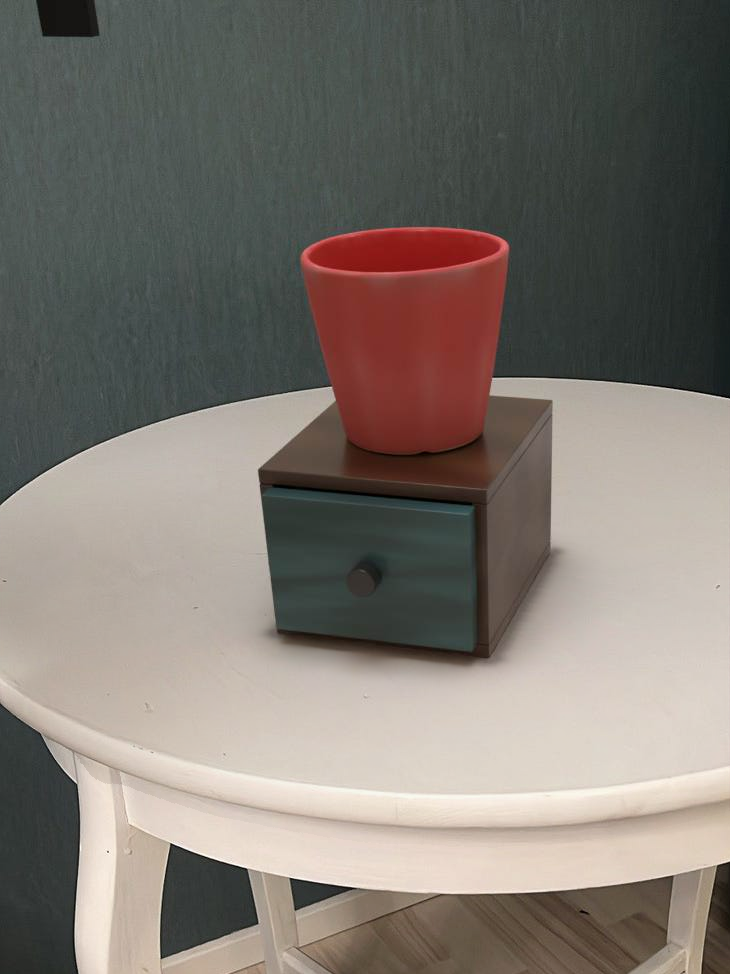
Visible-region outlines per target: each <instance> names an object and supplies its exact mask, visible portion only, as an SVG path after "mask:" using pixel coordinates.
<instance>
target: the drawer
mask: <svg viewBox="0 0 730 974" xmlns="http://www.w3.org/2000/svg"><path fill="white" fill-rule="evenodd" d="M261 499H262V502H261V508H262V507H263V511H262V517H263V516H264V519H263V525H264V524H265V528H264V534H265V533H266V536H265V542H266V541H267V545H266V551H267V550H268V553H267V559H268V558H269V562H268V568H269V567H270V570H269V577H270V576H271V579H270V585H271V584H272V587H271V594H272V593H273V596H272V602H273V601H274V604H273V611H274V610H275V613H274V619H275V618H276V619H275V628H276V627H277V629H283V630H291V631H299V632H308V633H316V634H325V635H333V636H342V637H350V638H358V639H367V640H375V641H384V642H392V643H401V644H409V645H417V646H426V647H434V648H443V649H451V650H460V651H468V652H472V651H473V649H474V648H475V646H476V644H477V643H478V621H477V571H476V521H475V506H472V504H473V503H469V502H458V501H447V500H436V499H426V498H415V497H404V496H393V495H382V494H371V493H361V492H350V491H339V490H328V489H317V488H306V487H295V486H292V489H284V488H273V487H269V488H268V489H267V490H266V491H265V492H264V493H263V494H262V495H261V494H260V500H261ZM277 629H276V630H277Z"/></svg>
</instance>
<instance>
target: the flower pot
mask: <svg viewBox="0 0 730 974" xmlns="http://www.w3.org/2000/svg"><path fill="white" fill-rule="evenodd" d="M509 257H510V245H509V243H508V242H507V241H506V240H505V239H503V238H501V237H499V236H497V235H494V234H491V233H488V232H482V231H479V230H471V229H464V228H453V227H452V228H451V227H434V226H432V227H431V226H428V227H427V226H418V227H417V226H415V227H414V226H413V227H411V226H410V227H409V226H408V227H389V228H387V227H386V228H378V229H377V228H376V229H368V230H361V231H355V232H349V233H344V234H339V235H335V236H332V237H327V238H324V239H322V240H320V241H316V242H315V243H313V244H311V245H309V246H308V247H307V248H305V249H304V250H303V251H302V252H301V255H300V266H301V271H302V275H303V280H304V285H305V288H306V293H307V298H308V301H309V306H310V310H311V314H312V318H313V321H314V325H315V329H316V330H315V331H316V333H317V338H318V342H319V345H320V349H321V353H322V356H323V360H324V364H325V368H326V371H327V375H328V378H329V382H330V385H331V388H332V392H333V396H334V399H335V401H336V403H337V406H338V410H339V413H340V417H341V420H342V424H343V427H344V430H345V433H346V436H347V438H348V439H349V440H350V441H351V442H352V443H353V444H355V445H356V446H358V447H360V448H363V449H366V450H369V451H373V452H378V453H385V454H398V455H410V454H417V453H420V452H423V451H427V452H432V453H435V452H441V451H446V450H450V449H454V448H457V447H460V446H463V445H465V444H468V443H470V442H471V441H473V440H475V439H476V438H477V437H478V436H479V435H480V434H481V433H482V431H483V429H484V424H485V417H486V410H487V405H488V399H489V395H490V394H491V387H492V381H493V378H494V377H493V375H494V370H495V363H496V357H497V350H498V343H499V337H500V336H499V335H500V328H501V322H502V315H503V313H502V312H503V306H504V299H505V298H504V297H505V291H506V284H507V274H508V267H509V259H510V258H509Z"/></svg>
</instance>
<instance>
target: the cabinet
mask: <svg viewBox="0 0 730 974" xmlns="http://www.w3.org/2000/svg"><path fill="white" fill-rule="evenodd" d="M553 407H554V406H553V400H552V399H544V398H530V397H518V396H517V397H516V396H504V395H503V396H502V395H490V394H489V399H488V405H487V410H486V417H485V424H484V429H483V431H482V433H481V434H480V435H479V436H478V437H477V438H476V439H475V440H473V441H471V442H470V443H468V444H465V445H463V446H460V447H457V448H454V449H450V450H446V451H441V452H435V453H432V452H427V451H423V452H420V453H417V454H410V455H398V454H385V453H378V452H373V451H369V450H366V449H363V448H360V447H358V446H356V445H355V444H353V443H352V442H351V441H350V440H349V439H348V438H347V436H346V433H345V430H344V427H343V424H342V420H341V417H340V413H339V410H338V406H337V403H336V400H334V401H333V402H332V403H331V404H330V405H329V406H328V407H327V408H325V410H323V411H322V412H321V413H320V414H319V415H317V417H315V418H314V419H313V420H312V421H311V422H309V423H308V424H307V425H306V426H305V427H304V428H302V430H300V431H299V432H298V433H297V434H296V435H295V436H293V438H291V440H289V441H288V442H287V443H286V444H285V445H283V446H282V447H281V448H280V449H279V450H278V451H277V452H276V453H275V454H273V455H272V456H270V458H269V459H268V460H267V461H265V462H264V463H263V464H262V465H260V467H259V468H258V469H257V474H258V483H259V493H260V496H261V495H262V494H263V493H264V492H265V491H266V490H267V489H268V488H269V487H273V488H284V489H292V486H295V487H306V488H317V489H328V490H339V491H350V492H361V493H371V494H382V495H393V496H404V497H415V498H426V499H436V500H447V501H458V502H469V503H473V504H472V506H475V521H476V571H477V621H478V643H477V644H476V646H475V648H474V649H473V651H472V652H468V651H460V650H451V649H443V648H434V647H426V646H417V645H409V644H401V643H392V642H384V641H375V640H367V639H358V638H350V637H342V636H333V635H325V634H316V633H308V632H299V631H291V630H283V629H277V627H276V626H275V628H276V629H275V630H276V633H278V634H286V635H295V636H303V637H312V638H319V639H320V638H321V639H326V640H327V639H328V640H336V641H345V642H351V643H353V642H354V643H362V644H369V645H378V646H386V647H396V648H402V649H403V648H404V649H412V650H419V651H420V650H422V651H429V652H437V653H445V654H454V655H461V656H462V655H463V656H470V657H477V658H490V656H491V655H492V653H493V651H494V649H495V648H496V647H497V644H498V643H499V641H500V640H501V638H502V636H503V634H504V632H505V631H506V629H507V627H508V626H509V624H510V622H511V620H512V618H513V617H514V615H515V614H516V612H517V610H518V608H519V607H520V605H521V603H522V602H523V600H524V598H525V596H526V595H527V593H528V591H529V589H530V588H531V586H532V584H533V582H534V581H535V579H536V577H537V575H538V574H539V572H540V571H541V569H542V567H543V565H544V563H545V562H546V560H547V558H548V556H549V555H550V554H551V544H552V543H551V542H552V541H551V540H552V538H551V537H552V478H553V477H552V476H553V475H552V474H553V466H552V465H553ZM260 501H261V503H262V499H261V498H260ZM261 510H262V512H263V507H262V506H261ZM262 518H263V520H264V516H263V515H262ZM263 526H264V527H263V529H265V524H264V523H263ZM264 535H265V537H266V533H265V532H264ZM265 543H266V546H267V541H266V540H265ZM266 552H267V554H268V550H267V549H266ZM267 560H268V563H269V558H268V557H267ZM268 569H269V570H268V571H270V567H269V566H268ZM269 578H270V580H271V576H270V575H269ZM270 586H271V588H272V584H271V583H270ZM271 594H272V597H273V593H272V592H271ZM272 603H273V605H274V601H273V600H272ZM273 612H274V614H275V610H274V609H273ZM274 619H275V620H276V618H275V617H274Z"/></svg>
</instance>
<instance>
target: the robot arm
mask: <svg viewBox="0 0 730 974" xmlns="http://www.w3.org/2000/svg"><path fill="white" fill-rule="evenodd" d="M35 2H36V8H37V14H38V20H39V24H40V31H41V36H42V38H43V37H45V38H47V37H48V38H50V37H51V38H95V37H99V36H101V34H100V28H99V22H98V14H97V9H96V3H95V0H35Z"/></svg>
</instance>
